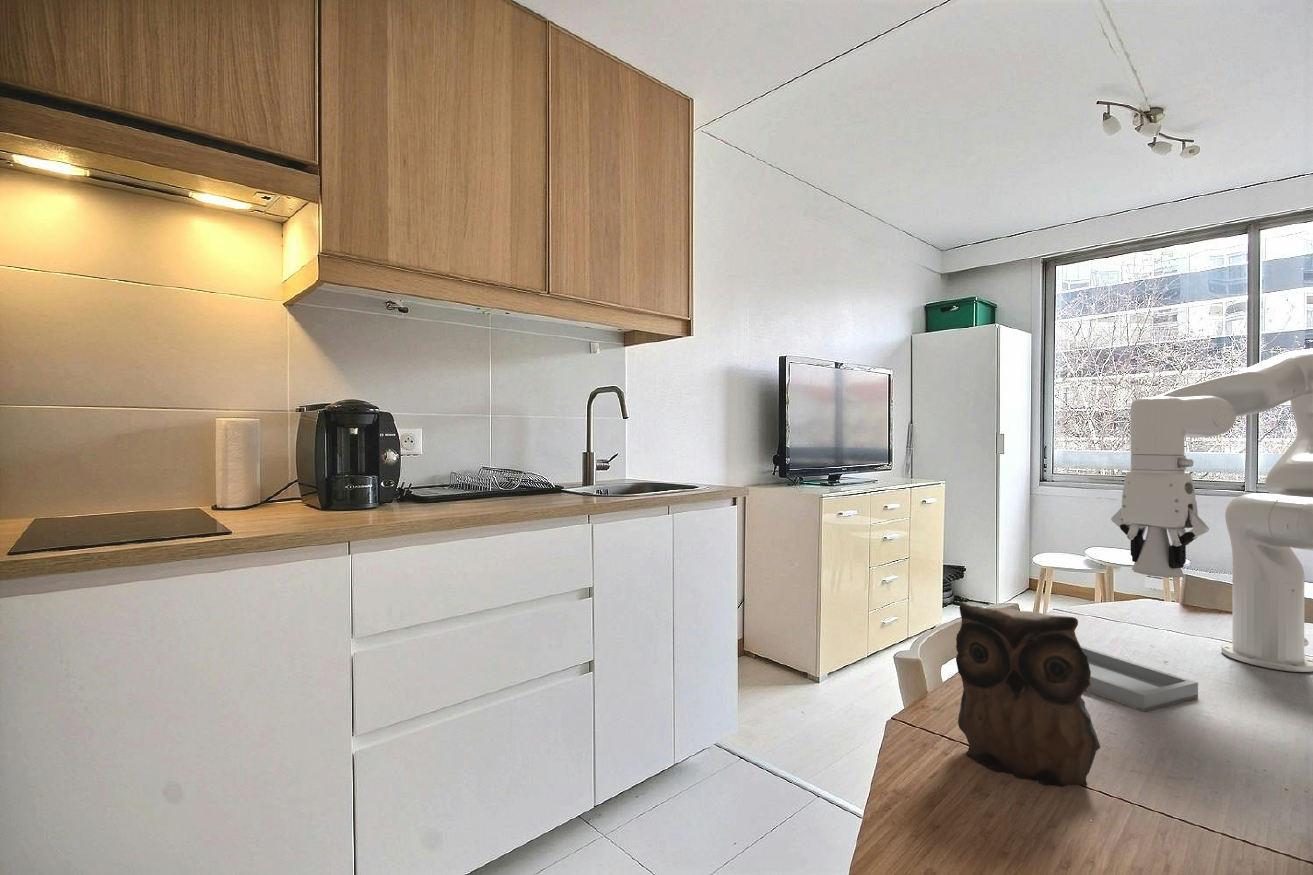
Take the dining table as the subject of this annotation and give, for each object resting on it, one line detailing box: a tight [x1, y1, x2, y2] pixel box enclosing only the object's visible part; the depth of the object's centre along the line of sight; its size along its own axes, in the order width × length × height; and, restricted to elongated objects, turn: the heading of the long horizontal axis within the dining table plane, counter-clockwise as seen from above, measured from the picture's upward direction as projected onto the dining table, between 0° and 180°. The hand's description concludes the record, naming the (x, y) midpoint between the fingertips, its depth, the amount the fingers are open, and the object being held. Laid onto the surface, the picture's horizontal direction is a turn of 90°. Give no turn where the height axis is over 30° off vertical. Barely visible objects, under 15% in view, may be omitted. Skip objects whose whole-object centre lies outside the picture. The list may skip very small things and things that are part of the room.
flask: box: [1131, 526, 1185, 579], centre depth 108 cm, size 7×7×10 cm
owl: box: [955, 601, 1101, 787], centre depth 75 cm, size 13×13×20 cm
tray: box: [1080, 645, 1199, 713], centre depth 102 cm, size 14×20×2 cm
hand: (1157, 563), depth 108 cm, fingers closed on flask, 5 cm apart
